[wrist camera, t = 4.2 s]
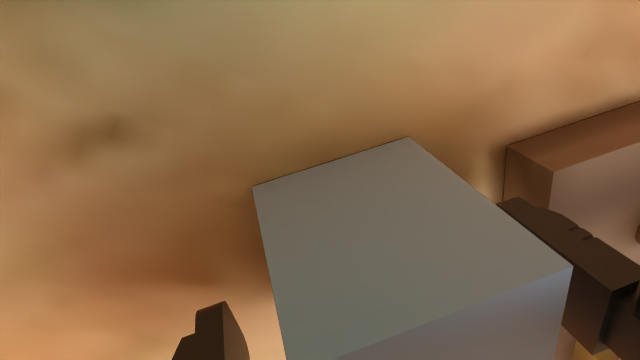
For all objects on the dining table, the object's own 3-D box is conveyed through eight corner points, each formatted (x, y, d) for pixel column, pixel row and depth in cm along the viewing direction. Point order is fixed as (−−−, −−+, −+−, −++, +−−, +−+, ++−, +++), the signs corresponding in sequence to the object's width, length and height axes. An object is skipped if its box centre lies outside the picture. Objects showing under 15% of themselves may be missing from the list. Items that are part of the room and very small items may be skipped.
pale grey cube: (251, 186, 11) (289, 375, 6) (408, 136, 11) (574, 266, 6) (293, 300, 13) (345, 500, 8) (419, 254, 14) (541, 414, 9)
